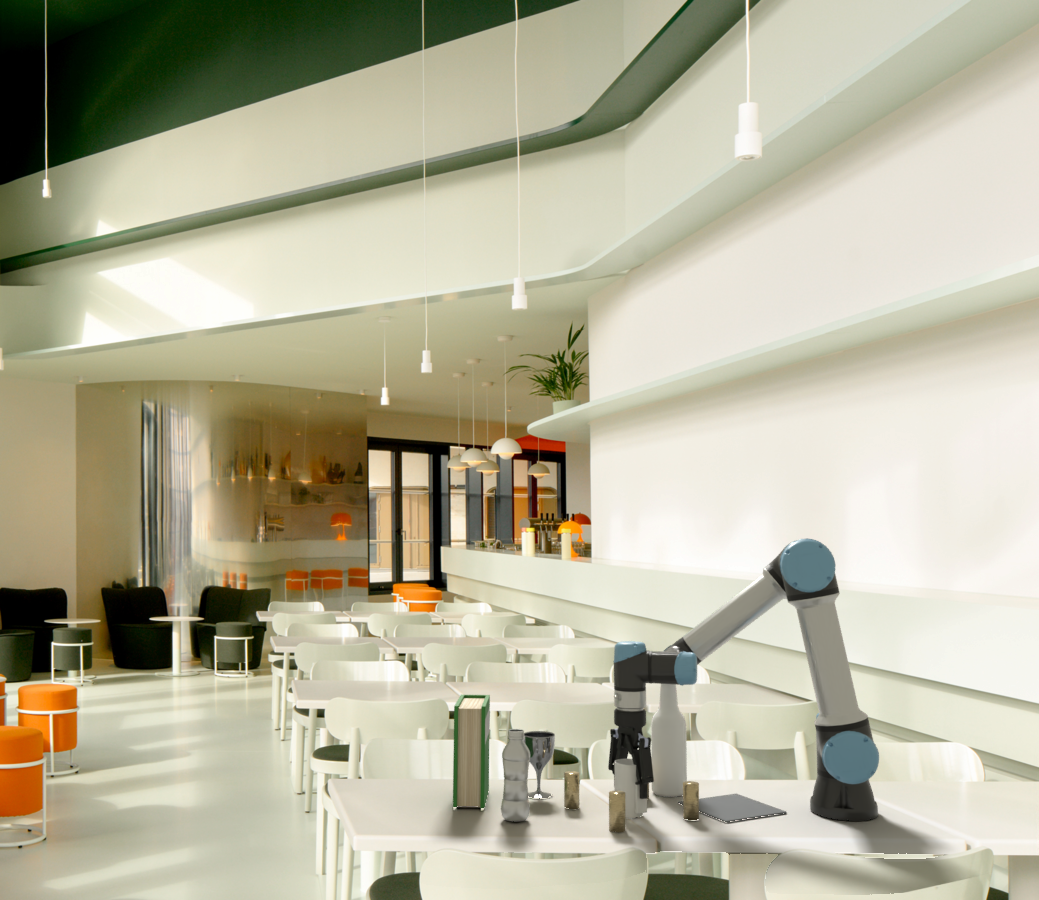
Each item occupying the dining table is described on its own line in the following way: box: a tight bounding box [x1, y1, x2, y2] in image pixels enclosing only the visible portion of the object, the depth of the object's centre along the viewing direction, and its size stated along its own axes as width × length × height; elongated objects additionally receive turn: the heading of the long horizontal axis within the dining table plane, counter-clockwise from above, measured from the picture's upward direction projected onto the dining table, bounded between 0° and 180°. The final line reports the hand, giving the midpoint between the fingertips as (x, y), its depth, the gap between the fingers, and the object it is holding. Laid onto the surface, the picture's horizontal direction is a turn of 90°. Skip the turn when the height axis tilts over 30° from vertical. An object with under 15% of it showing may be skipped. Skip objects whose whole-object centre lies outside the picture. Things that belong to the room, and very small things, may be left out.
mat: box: [677, 793, 788, 822], centre depth 226 cm, size 18×18×1 cm
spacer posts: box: [563, 770, 700, 834], centre depth 222 cm, size 24×24×8 cm
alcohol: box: [650, 684, 688, 798], centre depth 241 cm, size 9×9×30 cm
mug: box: [614, 758, 644, 820], centre depth 222 cm, size 10×7×12 cm, turn 171°
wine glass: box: [523, 730, 556, 799], centre depth 237 cm, size 8×8×15 cm
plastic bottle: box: [500, 728, 531, 823], centre depth 216 cm, size 6×7×20 cm
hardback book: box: [452, 694, 491, 808], centre depth 233 cm, size 18×7×24 cm, turn 178°
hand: (630, 807), depth 221 cm, fingers closed on mug, 8 cm apart
